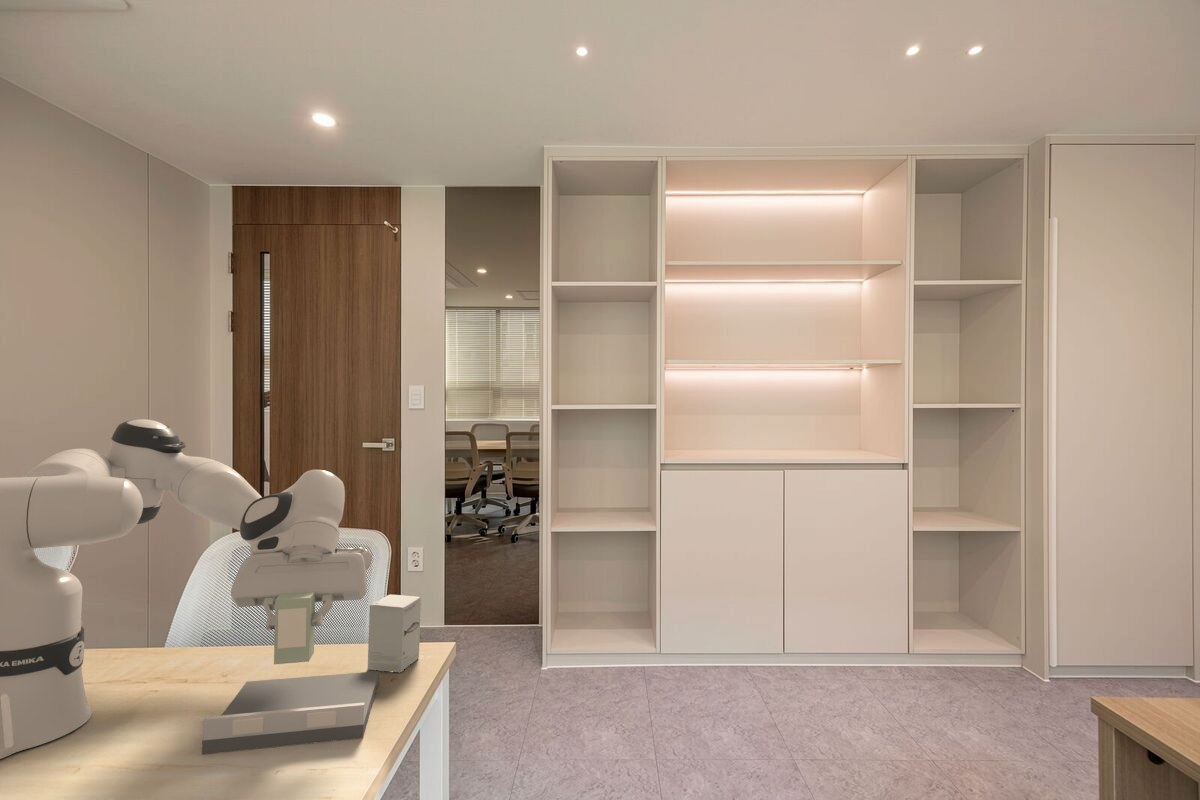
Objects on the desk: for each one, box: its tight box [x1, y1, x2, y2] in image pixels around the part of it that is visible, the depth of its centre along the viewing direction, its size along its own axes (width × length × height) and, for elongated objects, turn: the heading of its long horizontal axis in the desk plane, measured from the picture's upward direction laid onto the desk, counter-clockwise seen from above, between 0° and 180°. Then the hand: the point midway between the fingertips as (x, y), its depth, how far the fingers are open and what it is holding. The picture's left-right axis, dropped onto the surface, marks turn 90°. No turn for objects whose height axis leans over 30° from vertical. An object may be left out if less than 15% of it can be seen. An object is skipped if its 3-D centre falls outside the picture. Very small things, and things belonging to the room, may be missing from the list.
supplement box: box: [366, 594, 422, 674], centre depth 118 cm, size 7×7×13 cm
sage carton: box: [273, 591, 316, 665], centre depth 95 cm, size 5×4×10 cm
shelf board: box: [201, 670, 380, 755], centre depth 98 cm, size 22×19×5 cm
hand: (294, 626), depth 94 cm, fingers closed on sage carton, 5 cm apart
